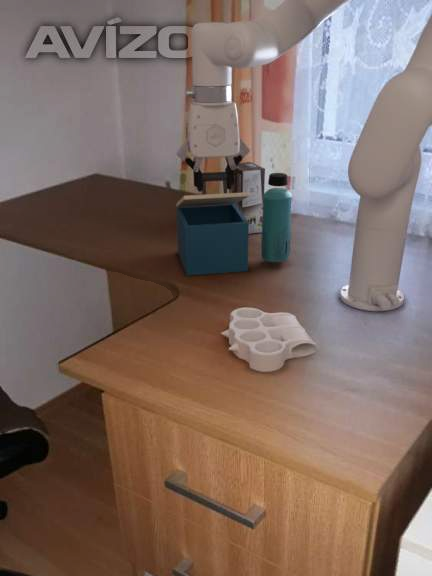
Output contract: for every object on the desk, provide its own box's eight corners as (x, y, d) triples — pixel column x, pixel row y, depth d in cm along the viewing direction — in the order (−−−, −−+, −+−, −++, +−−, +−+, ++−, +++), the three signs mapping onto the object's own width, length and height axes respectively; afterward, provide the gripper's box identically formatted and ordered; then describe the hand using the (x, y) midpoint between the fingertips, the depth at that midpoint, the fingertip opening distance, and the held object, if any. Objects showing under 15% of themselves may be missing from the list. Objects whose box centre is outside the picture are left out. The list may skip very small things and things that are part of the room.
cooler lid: (249, 196, 127) (248, 169, 126) (184, 199, 125) (182, 172, 124) (234, 203, 142) (233, 179, 141) (176, 207, 140) (174, 182, 139)
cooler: (247, 271, 136) (248, 222, 130) (186, 275, 134) (185, 226, 128) (234, 248, 148) (234, 204, 142) (178, 252, 146) (176, 207, 140)
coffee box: (264, 232, 159) (266, 168, 150) (241, 235, 157) (242, 170, 148) (249, 222, 166) (251, 161, 157) (227, 225, 164) (228, 163, 155)
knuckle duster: (322, 366, 100) (236, 376, 98) (288, 319, 115) (212, 326, 112) (324, 348, 98) (236, 358, 96) (289, 302, 113) (212, 310, 111)
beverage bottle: (287, 269, 136) (292, 178, 126) (258, 267, 138) (261, 176, 127) (290, 259, 142) (295, 170, 131) (262, 257, 143) (265, 169, 132)
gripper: (171, 99, 115) (176, 196, 124) (259, 95, 117) (257, 191, 127) (166, 94, 121) (171, 187, 131) (250, 91, 124) (249, 182, 133)
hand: (213, 188), depth 129 cm, fingers closed on cooler lid, 5 cm apart
